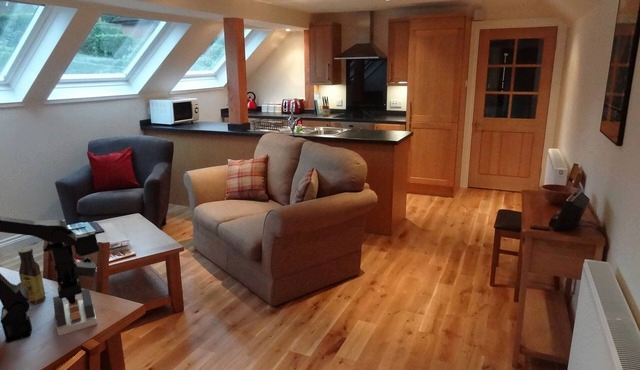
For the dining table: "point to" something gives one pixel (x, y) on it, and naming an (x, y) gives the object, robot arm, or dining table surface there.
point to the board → (76, 320)
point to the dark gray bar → (88, 303)
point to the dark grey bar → (59, 311)
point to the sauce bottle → (31, 276)
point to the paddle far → (74, 303)
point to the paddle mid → (74, 308)
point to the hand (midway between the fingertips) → (73, 303)
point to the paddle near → (75, 315)
